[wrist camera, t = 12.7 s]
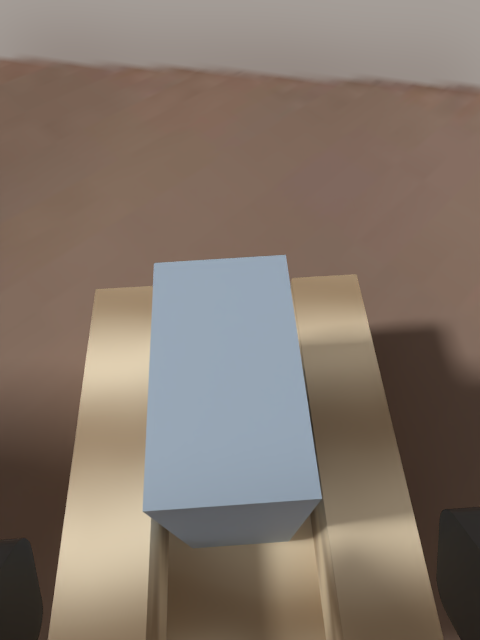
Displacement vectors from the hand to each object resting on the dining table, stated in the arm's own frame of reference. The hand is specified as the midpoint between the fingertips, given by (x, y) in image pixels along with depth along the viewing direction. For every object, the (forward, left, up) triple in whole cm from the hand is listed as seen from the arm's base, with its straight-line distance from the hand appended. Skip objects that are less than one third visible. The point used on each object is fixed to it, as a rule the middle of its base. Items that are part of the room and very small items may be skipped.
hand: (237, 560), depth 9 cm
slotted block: (-3, +3, -13) cm, 14 cm away
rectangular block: (-3, +3, -11) cm, 12 cm away
